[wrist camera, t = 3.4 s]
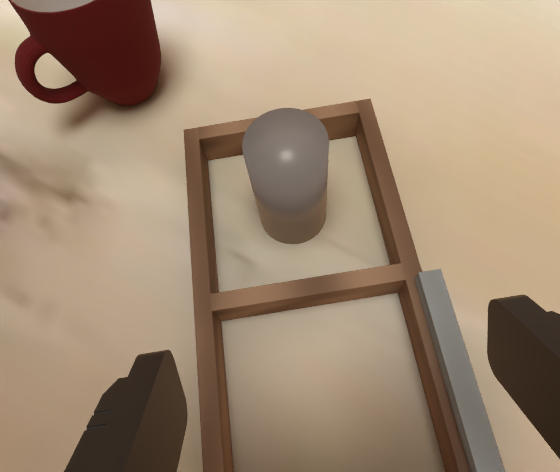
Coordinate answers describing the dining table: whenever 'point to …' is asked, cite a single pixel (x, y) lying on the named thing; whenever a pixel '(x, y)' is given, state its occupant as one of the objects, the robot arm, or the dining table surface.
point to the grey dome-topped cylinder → (288, 172)
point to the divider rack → (335, 298)
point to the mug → (91, 48)
